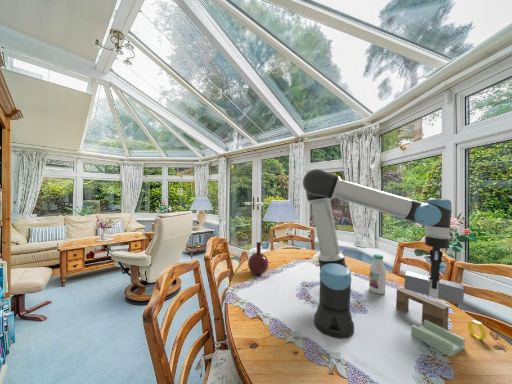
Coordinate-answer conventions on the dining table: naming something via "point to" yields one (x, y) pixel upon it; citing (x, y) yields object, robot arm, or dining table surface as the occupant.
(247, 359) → the dining table surface
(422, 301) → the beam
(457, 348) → the cradle
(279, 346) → the dining table surface
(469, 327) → the yellow ring
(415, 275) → the grey rectangular bar
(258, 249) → the round-bottom flask
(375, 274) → the milk bottle
